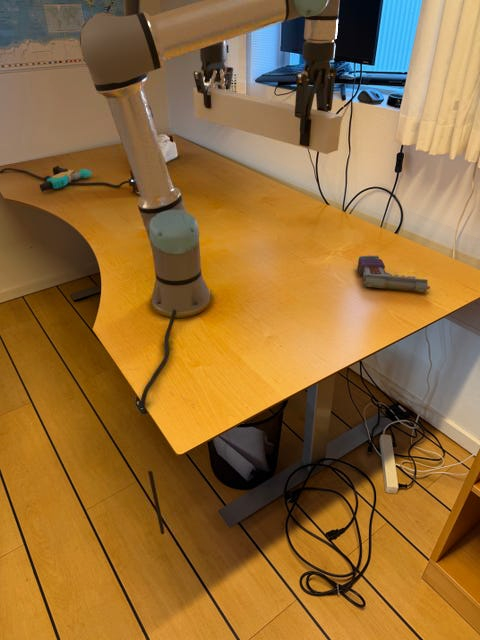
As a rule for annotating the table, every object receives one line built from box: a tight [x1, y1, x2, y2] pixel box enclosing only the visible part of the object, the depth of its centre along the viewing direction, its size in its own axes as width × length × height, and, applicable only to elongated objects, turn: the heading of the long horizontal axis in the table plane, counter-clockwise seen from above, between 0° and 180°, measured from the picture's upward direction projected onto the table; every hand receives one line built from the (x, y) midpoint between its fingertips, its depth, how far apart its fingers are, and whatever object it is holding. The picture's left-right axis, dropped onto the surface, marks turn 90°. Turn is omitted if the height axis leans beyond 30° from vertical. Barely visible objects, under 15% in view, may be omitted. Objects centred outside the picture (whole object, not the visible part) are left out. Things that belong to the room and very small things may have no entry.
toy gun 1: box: [39, 165, 92, 193], centre depth 197 cm, size 4×26×15 cm
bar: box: [192, 86, 343, 155], centre depth 134 cm, size 52×5×8 cm, turn 44°
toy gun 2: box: [356, 254, 431, 293], centre depth 132 cm, size 4×19×15 cm
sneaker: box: [157, 133, 179, 163], centre depth 214 cm, size 10×29×12 cm, turn 163°
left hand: (214, 106), depth 145 cm, fingers closed on bar, 4 cm apart
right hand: (310, 143), depth 125 cm, fingers closed on bar, 5 cm apart
